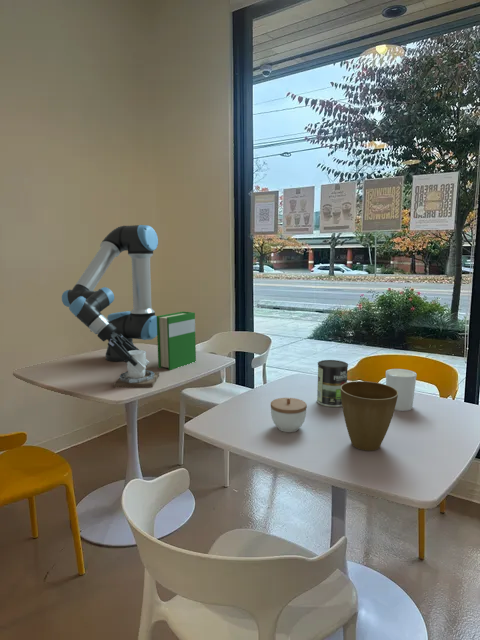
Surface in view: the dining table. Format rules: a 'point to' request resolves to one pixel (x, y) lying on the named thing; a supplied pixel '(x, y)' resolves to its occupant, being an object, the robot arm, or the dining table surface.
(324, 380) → the coffee can
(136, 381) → the ring holder
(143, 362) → the white cup
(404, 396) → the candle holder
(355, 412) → the plant pot
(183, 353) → the hardback book
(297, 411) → the lidded jar
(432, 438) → the dining table surface
